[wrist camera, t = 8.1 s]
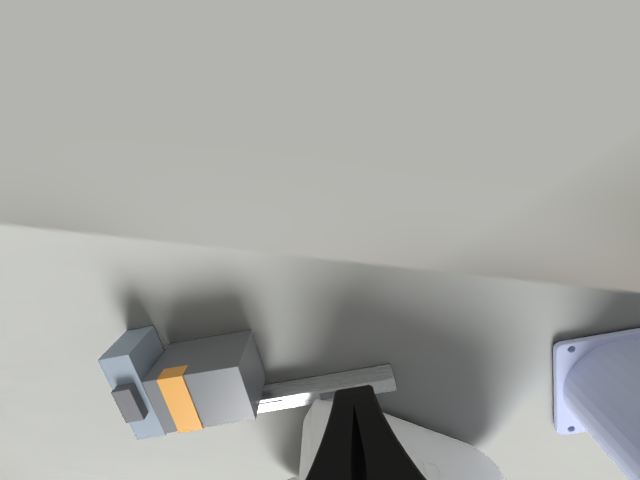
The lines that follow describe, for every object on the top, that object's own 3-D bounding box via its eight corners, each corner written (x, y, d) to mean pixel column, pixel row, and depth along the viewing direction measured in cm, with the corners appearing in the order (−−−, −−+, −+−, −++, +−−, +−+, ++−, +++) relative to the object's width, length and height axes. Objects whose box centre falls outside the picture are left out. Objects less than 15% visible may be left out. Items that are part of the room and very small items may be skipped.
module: (251, 327, 24) (237, 366, 20) (266, 375, 25) (255, 421, 21) (170, 341, 24) (140, 382, 20) (188, 388, 26) (163, 435, 22)
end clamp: (153, 325, 24) (122, 361, 20) (184, 398, 26) (161, 443, 22) (126, 330, 24) (91, 366, 20) (159, 402, 26) (132, 447, 22)
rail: (390, 363, 24) (394, 379, 23) (392, 375, 25) (396, 391, 23) (153, 403, 26) (142, 421, 24) (158, 414, 26) (147, 431, 25)
